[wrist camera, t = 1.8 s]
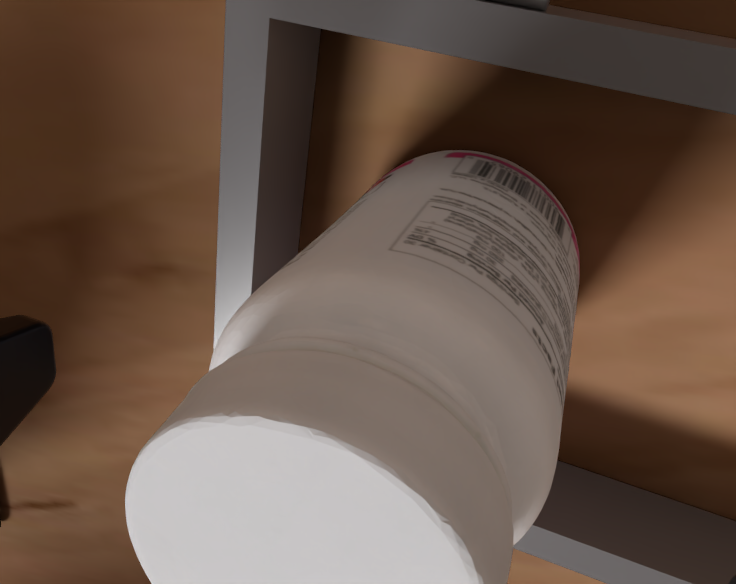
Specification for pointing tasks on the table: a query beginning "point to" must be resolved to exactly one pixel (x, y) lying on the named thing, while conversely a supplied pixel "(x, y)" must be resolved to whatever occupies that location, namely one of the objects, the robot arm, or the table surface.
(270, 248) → the gray rectangular frame
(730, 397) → the table surface
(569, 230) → the pill bottle
